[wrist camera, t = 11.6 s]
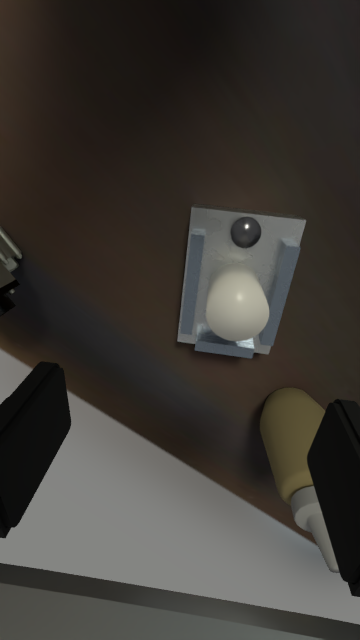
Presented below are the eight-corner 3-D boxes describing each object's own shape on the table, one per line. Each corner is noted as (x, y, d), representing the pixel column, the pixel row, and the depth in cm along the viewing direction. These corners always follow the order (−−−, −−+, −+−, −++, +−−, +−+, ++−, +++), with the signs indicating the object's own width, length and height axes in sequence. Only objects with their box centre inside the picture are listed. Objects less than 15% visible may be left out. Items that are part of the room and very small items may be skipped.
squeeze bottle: (317, 374, 36) (397, 536, 20) (322, 422, 40) (394, 594, 24) (250, 384, 38) (275, 541, 22) (261, 429, 41) (289, 594, 25)
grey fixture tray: (193, 203, 29) (190, 209, 25) (297, 215, 28) (311, 223, 24) (180, 328, 35) (175, 349, 31) (264, 340, 35) (270, 362, 31)
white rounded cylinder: (211, 259, 28) (210, 281, 23) (264, 266, 28) (276, 289, 23) (202, 320, 31) (199, 352, 26) (250, 327, 31) (257, 360, 26)
